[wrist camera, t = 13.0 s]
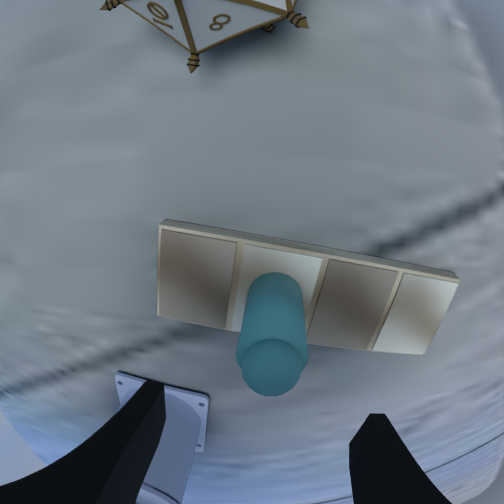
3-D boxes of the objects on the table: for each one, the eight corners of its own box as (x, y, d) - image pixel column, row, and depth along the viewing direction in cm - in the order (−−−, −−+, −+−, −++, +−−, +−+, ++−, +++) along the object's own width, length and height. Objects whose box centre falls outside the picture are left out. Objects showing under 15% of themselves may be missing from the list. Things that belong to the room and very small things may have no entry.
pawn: (290, 324, 18) (291, 418, 12) (240, 309, 18) (221, 400, 11) (310, 282, 17) (324, 372, 10) (257, 264, 17) (243, 351, 10)
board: (419, 346, 19) (424, 356, 18) (162, 306, 20) (156, 317, 19) (453, 272, 17) (461, 281, 16) (165, 219, 17) (157, 225, 16)
